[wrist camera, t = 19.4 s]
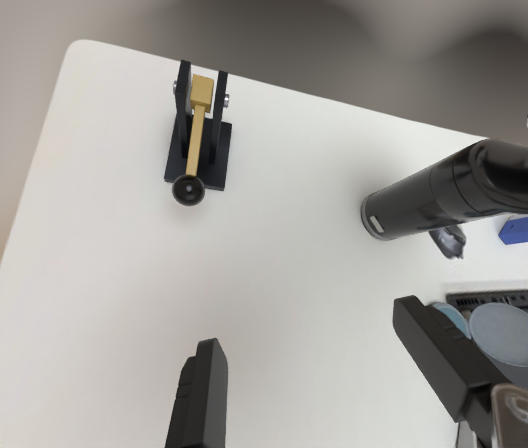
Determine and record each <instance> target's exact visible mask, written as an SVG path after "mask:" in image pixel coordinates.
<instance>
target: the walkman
mask: <svg viewBox="0 0 528 448" xmlns="http://www.w3.org/2000/svg"><path fill="white" fill-rule="evenodd" d="M499 236H500V238H501V239H502V240H503V241H504V243H505V244H506V245H507V244H516V243H524V242H528V215H519V214H518V215H513V216H511V217H510V218H509V220H508V221H507V223H506V224H505V226H504V228H503V229H502V231H501V232H500V234H499Z"/></svg>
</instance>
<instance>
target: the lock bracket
mask: <svg viewBox="0 0 528 448" xmlns="http://www.w3.org/2000/svg"><path fill="white" fill-rule="evenodd" d="M227 77H228V73H227V72H224V71H219V74H218V81H217V87H216V94H215V101H214V110H213V119H209V118H205V117H204V123H203V130H202V138H201V145H200V152H199V159H198V167H197V174H196V176H197V177H198V178H199V179H200V180H201V181H202V182H203V184H204V186H205V188H208V189H214V190H220V191H224V188H225V179H226V171H227V163H228V154H229V146H230V138H231V129H232V124H231V123H226V122H222V121H221V119H222V113H223V107H226V108H227V107H228V102H229V95H228V94H225V92H226V84H227ZM173 93H174V95H175V100H176V109H177V114H176V119H175V124H174V130H173V135H172V140H171V145H170V150H169V156H168V161H167V166H166V171H165V176H164V179H165V181H166V182H172V183H174V181H175V180H176V179H177V178H178V177H179V176H182V175H185V174H186V168H187V160H188V153H189V146H190V139H191V131H192V124H193V117H194V115H192V109H191V104H190V94H191V63H190V62H189V61H185V60H181V64H180V69H179V74H178V79H177V81H174V85H173Z"/></svg>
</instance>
